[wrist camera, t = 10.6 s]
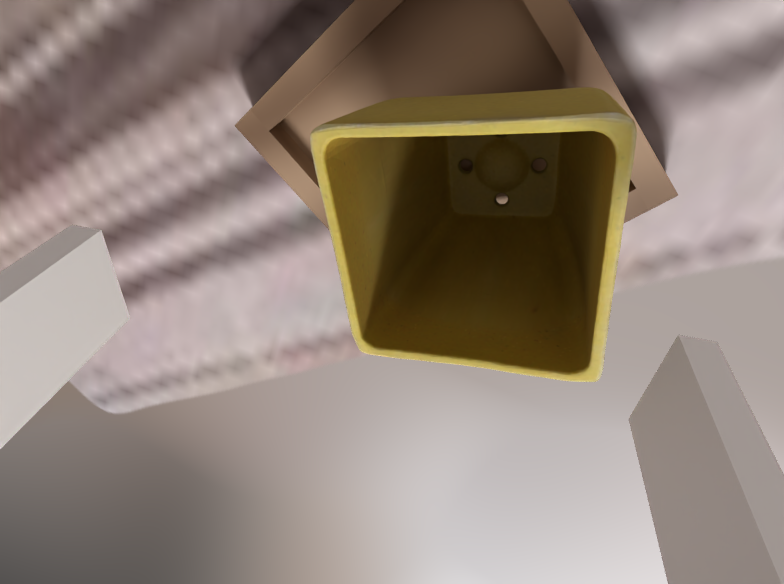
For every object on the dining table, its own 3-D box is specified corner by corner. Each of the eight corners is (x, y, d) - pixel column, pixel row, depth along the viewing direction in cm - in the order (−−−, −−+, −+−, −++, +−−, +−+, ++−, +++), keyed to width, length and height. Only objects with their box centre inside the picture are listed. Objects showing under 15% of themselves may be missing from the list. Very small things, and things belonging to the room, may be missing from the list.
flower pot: (628, 45, 18) (642, 114, 11) (601, 252, 23) (600, 389, 16) (402, 63, 21) (303, 126, 14) (421, 242, 26) (354, 354, 19)
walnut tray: (255, 112, 24) (234, 125, 23) (491, -131, 17) (488, -140, 16) (424, 305, 29) (418, 328, 27) (665, 175, 22) (678, 195, 20)
